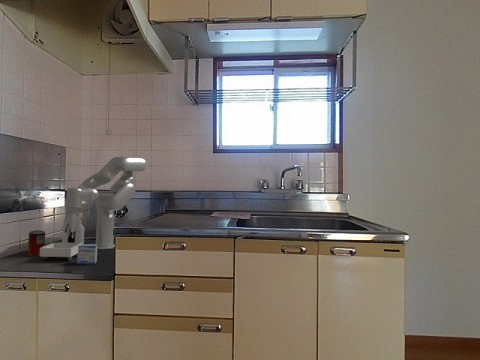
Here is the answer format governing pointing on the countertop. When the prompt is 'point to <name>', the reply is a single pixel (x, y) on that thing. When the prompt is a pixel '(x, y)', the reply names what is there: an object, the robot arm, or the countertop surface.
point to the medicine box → (87, 254)
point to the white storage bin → (59, 250)
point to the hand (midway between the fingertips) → (70, 244)
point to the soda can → (36, 242)
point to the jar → (79, 235)
